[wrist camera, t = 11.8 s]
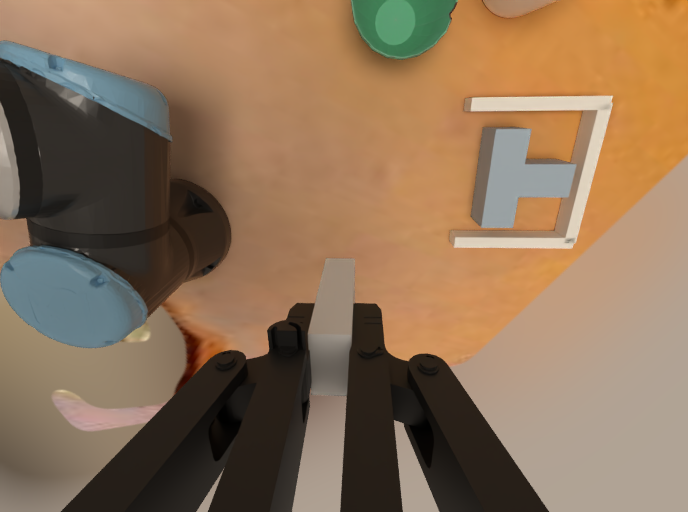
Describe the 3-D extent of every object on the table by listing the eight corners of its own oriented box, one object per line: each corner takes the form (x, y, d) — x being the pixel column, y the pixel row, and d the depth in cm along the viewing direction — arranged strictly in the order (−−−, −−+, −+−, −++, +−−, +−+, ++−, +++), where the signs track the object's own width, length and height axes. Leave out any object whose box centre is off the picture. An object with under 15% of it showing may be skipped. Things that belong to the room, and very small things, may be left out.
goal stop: (448, 239, 51) (453, 247, 48) (465, 98, 44) (472, 97, 41) (562, 240, 50) (574, 248, 48) (598, 96, 43) (615, 95, 40)
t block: (470, 216, 50) (481, 227, 45) (482, 127, 45) (496, 129, 40) (542, 217, 49) (560, 228, 44) (562, 126, 44) (585, 128, 40)
